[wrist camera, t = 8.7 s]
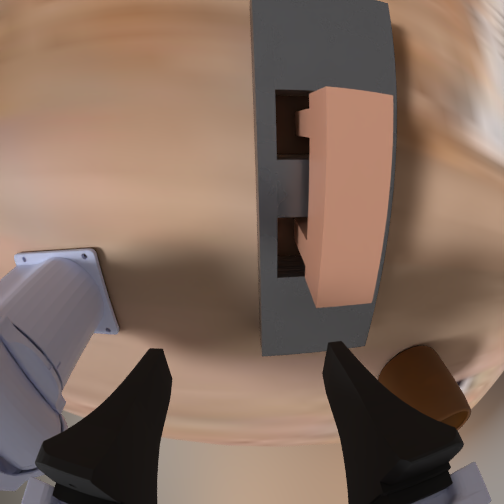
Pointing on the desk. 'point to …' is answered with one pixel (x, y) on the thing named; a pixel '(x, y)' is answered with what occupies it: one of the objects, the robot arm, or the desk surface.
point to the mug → (426, 385)
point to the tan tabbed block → (345, 192)
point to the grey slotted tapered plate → (297, 165)
